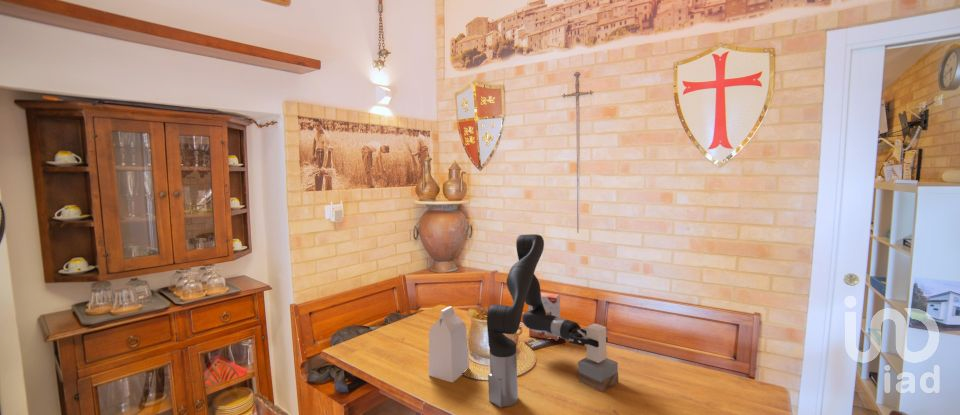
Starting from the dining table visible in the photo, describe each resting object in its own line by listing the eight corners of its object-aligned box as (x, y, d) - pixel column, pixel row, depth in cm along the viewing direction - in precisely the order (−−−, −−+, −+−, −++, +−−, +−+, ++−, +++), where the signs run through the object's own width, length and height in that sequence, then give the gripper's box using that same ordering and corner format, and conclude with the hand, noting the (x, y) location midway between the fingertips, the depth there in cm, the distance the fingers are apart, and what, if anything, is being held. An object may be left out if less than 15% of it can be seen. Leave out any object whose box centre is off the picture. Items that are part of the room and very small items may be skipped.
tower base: (602, 393, 138) (602, 382, 138) (579, 382, 146) (579, 372, 145) (618, 383, 144) (618, 372, 144) (594, 373, 152) (594, 363, 152)
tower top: (601, 382, 138) (601, 371, 137) (578, 371, 145) (578, 361, 145) (617, 372, 144) (617, 362, 143) (594, 363, 152) (594, 353, 151)
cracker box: (528, 336, 187) (527, 294, 186) (533, 332, 192) (532, 290, 191) (557, 341, 181) (556, 297, 179) (560, 336, 186) (560, 293, 184)
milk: (446, 362, 164) (443, 302, 162) (469, 368, 158) (467, 306, 156) (428, 375, 154) (425, 311, 152) (452, 382, 148) (449, 315, 146)
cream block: (598, 363, 141) (598, 330, 140) (586, 358, 145) (586, 326, 144) (606, 358, 144) (606, 327, 143) (594, 354, 148) (594, 323, 147)
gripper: (553, 324, 150) (591, 338, 137) (576, 315, 159) (613, 326, 146) (553, 343, 151) (591, 358, 137) (576, 333, 160) (613, 346, 147)
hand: (602, 342), depth 142 cm, fingers closed on cream block, 5 cm apart
